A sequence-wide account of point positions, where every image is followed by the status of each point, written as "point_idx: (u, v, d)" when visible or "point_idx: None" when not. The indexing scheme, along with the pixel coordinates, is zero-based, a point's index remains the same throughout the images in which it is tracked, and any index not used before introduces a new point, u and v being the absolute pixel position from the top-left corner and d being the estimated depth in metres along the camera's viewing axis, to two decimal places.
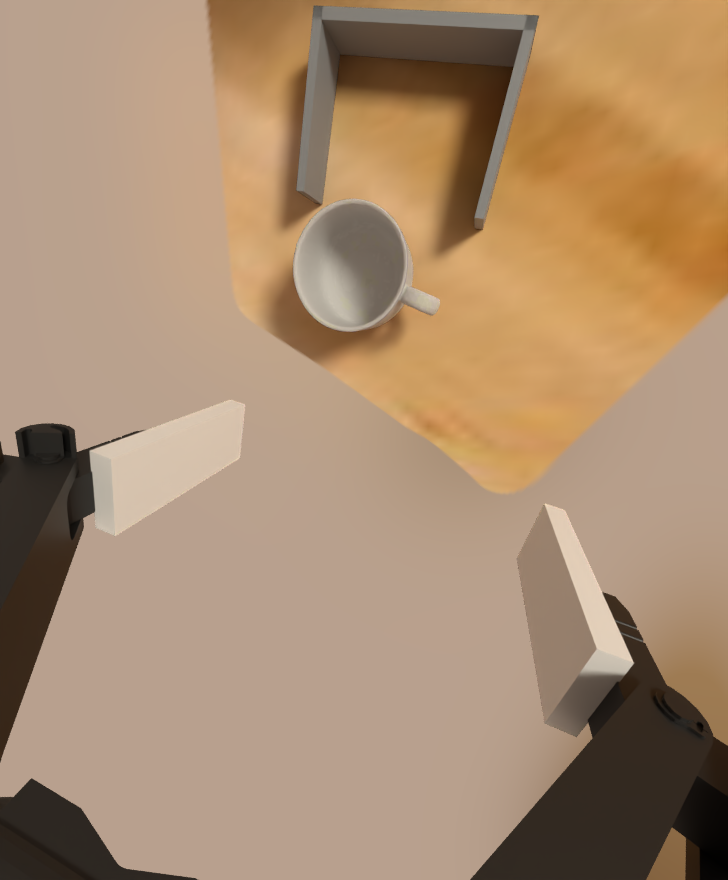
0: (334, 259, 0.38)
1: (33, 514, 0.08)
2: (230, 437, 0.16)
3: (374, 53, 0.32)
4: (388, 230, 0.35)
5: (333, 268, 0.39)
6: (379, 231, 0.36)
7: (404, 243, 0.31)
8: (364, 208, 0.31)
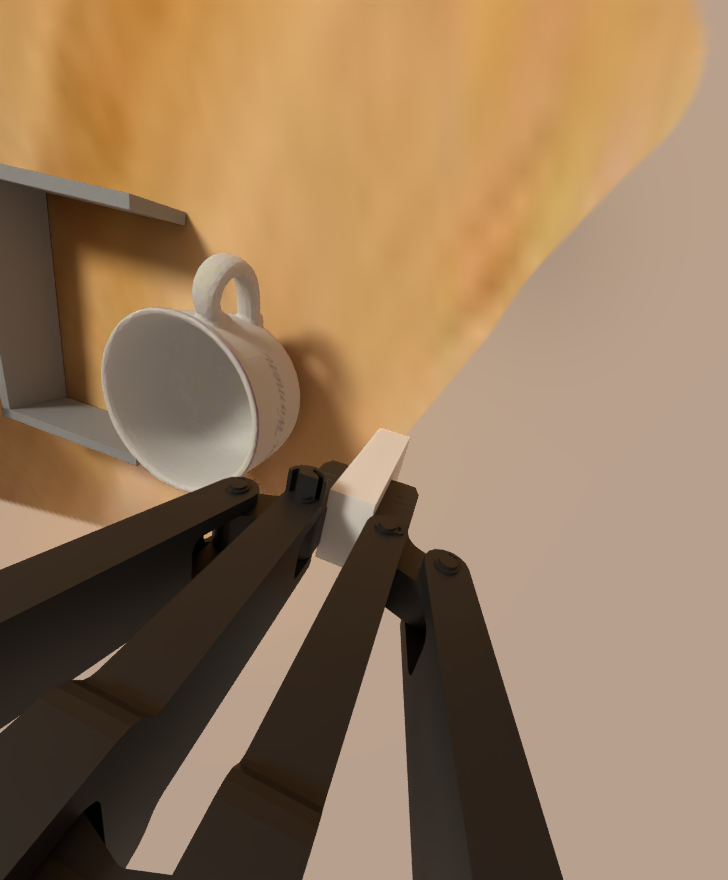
0: (223, 430, 0.28)
1: (270, 553, 0.08)
2: None
3: (56, 359, 0.31)
4: (178, 349, 0.25)
5: (233, 434, 0.28)
6: (186, 363, 0.26)
7: (135, 313, 0.19)
8: (118, 375, 0.22)
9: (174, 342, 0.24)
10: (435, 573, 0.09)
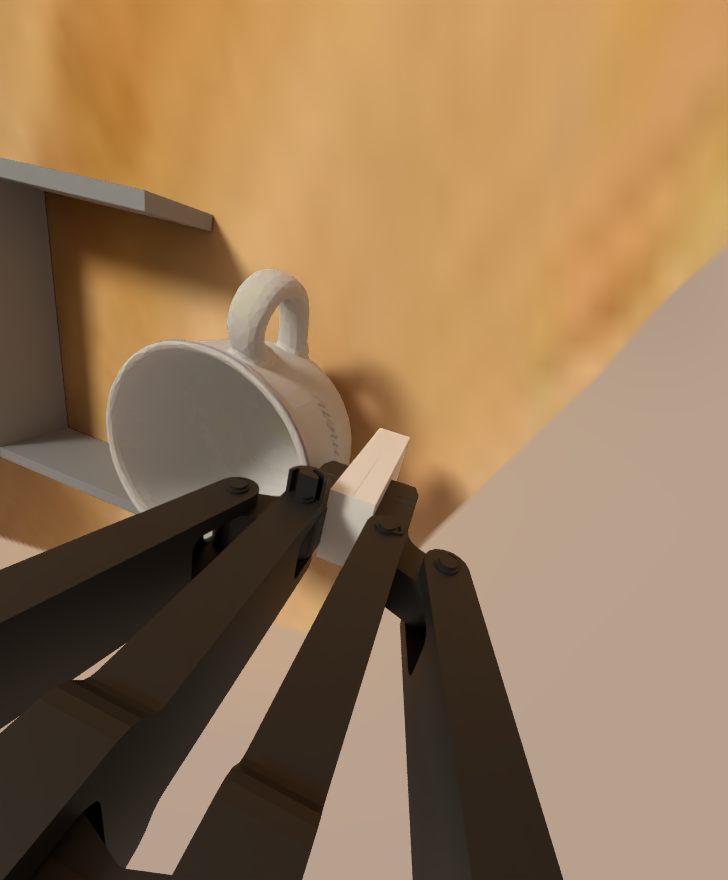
0: (251, 476, 0.23)
1: (271, 553, 0.08)
2: None
3: (56, 386, 0.27)
4: (200, 382, 0.21)
5: (264, 481, 0.23)
6: (210, 397, 0.22)
7: (150, 346, 0.15)
8: (127, 420, 0.17)
9: (196, 374, 0.20)
10: (435, 573, 0.09)
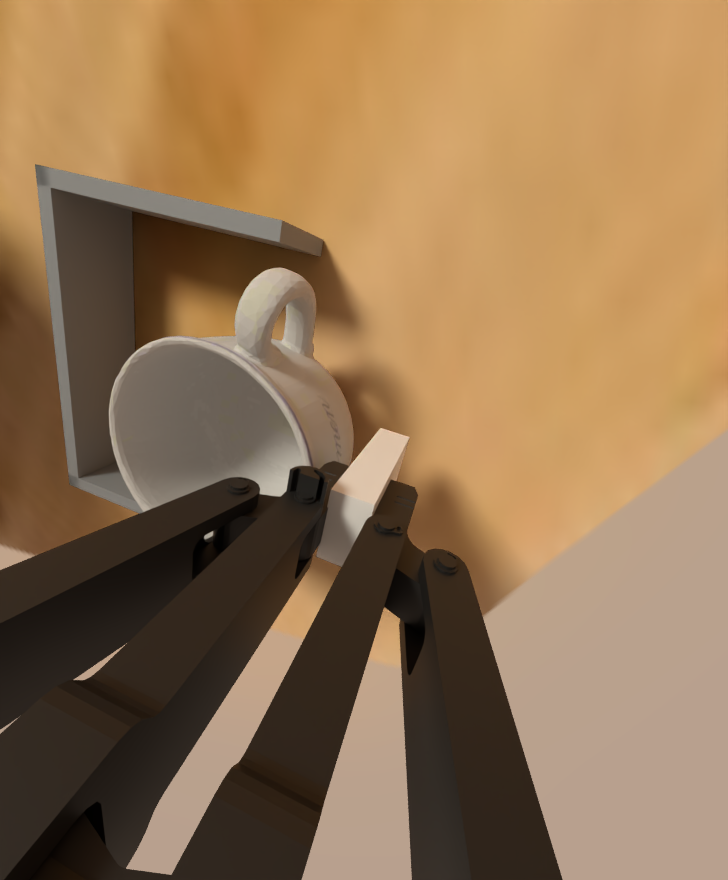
0: (252, 473, 0.23)
1: (271, 553, 0.08)
2: None
3: None
4: (204, 377, 0.21)
5: (264, 478, 0.23)
6: (212, 392, 0.22)
7: (156, 341, 0.15)
8: (129, 414, 0.17)
9: (200, 370, 0.20)
10: (434, 573, 0.09)
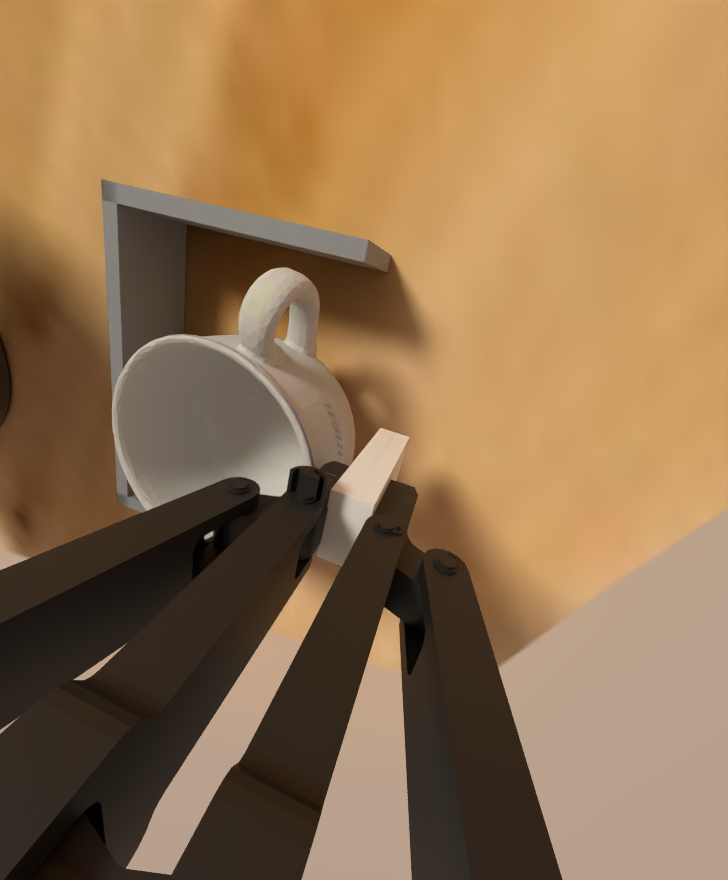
0: (253, 471, 0.23)
1: (272, 553, 0.08)
2: None
3: None
4: (207, 375, 0.21)
5: (265, 476, 0.23)
6: (215, 390, 0.22)
7: (159, 339, 0.15)
8: (132, 411, 0.18)
9: (203, 368, 0.20)
10: (434, 573, 0.09)
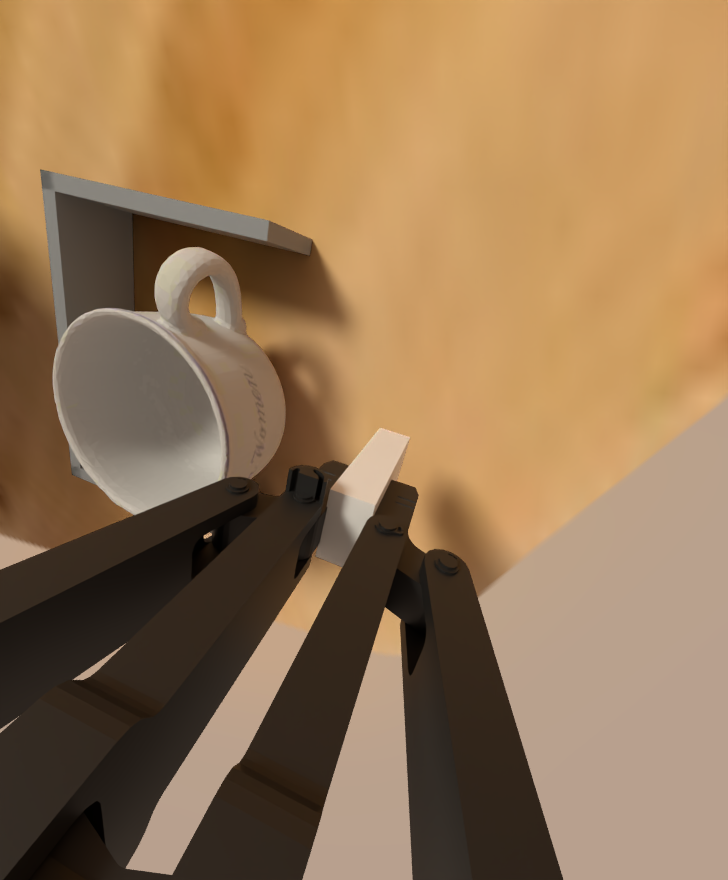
0: (199, 445, 0.25)
1: (270, 553, 0.08)
2: None
3: None
4: (150, 353, 0.22)
5: (211, 450, 0.25)
6: (160, 368, 0.23)
7: (88, 313, 0.16)
8: (73, 383, 0.19)
9: (145, 345, 0.21)
10: (435, 573, 0.09)
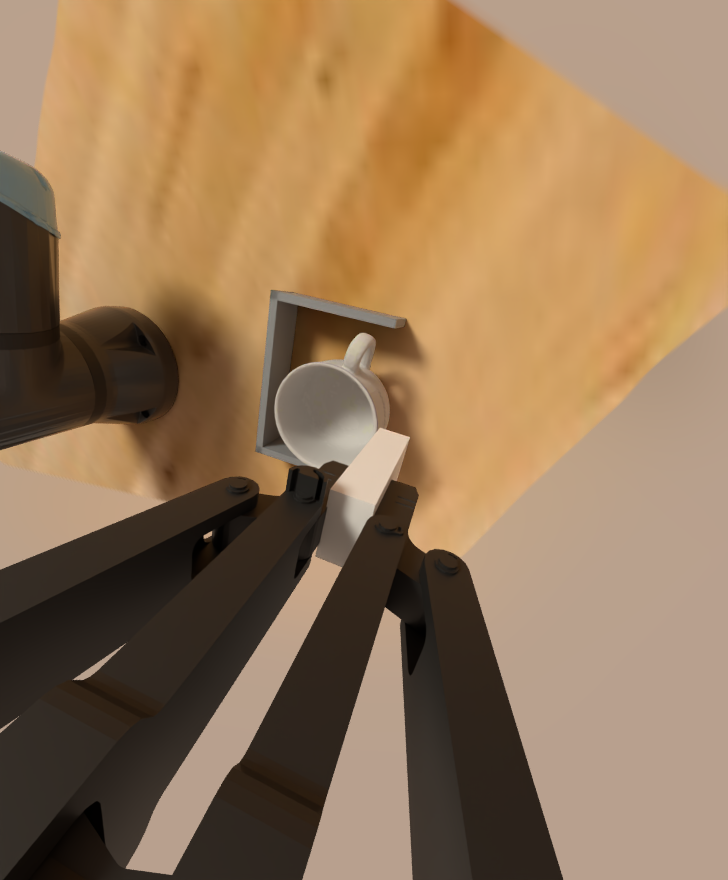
0: (330, 433, 0.42)
1: (271, 553, 0.08)
2: None
3: None
4: (310, 380, 0.39)
5: (338, 435, 0.42)
6: (312, 388, 0.40)
7: (307, 364, 0.33)
8: (283, 398, 0.36)
9: (310, 376, 0.38)
10: (435, 573, 0.09)
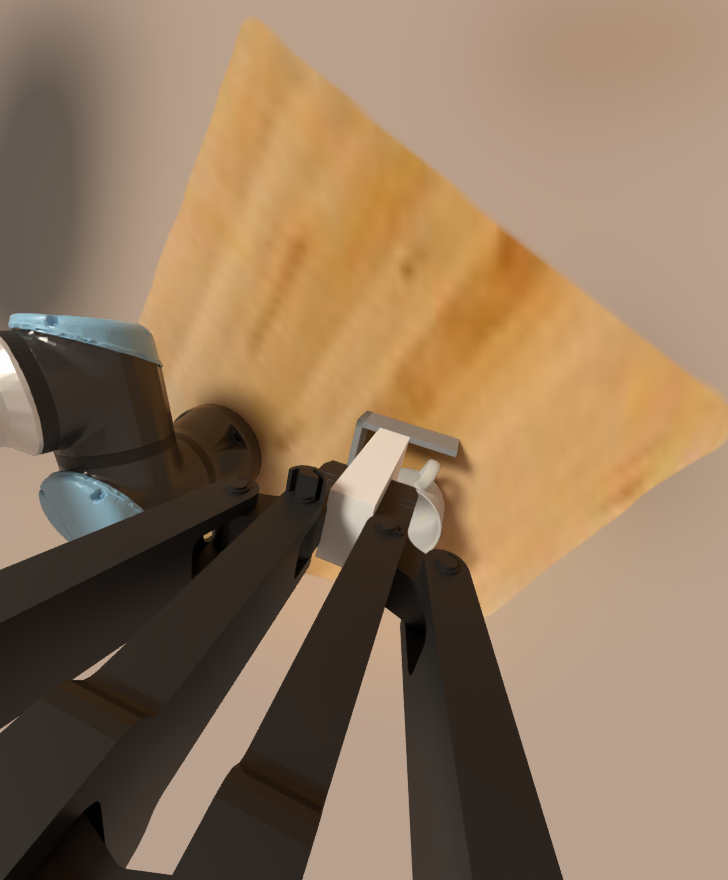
0: None
1: (270, 553, 0.08)
2: None
3: None
4: None
5: None
6: None
7: None
8: None
9: None
10: (435, 573, 0.09)
